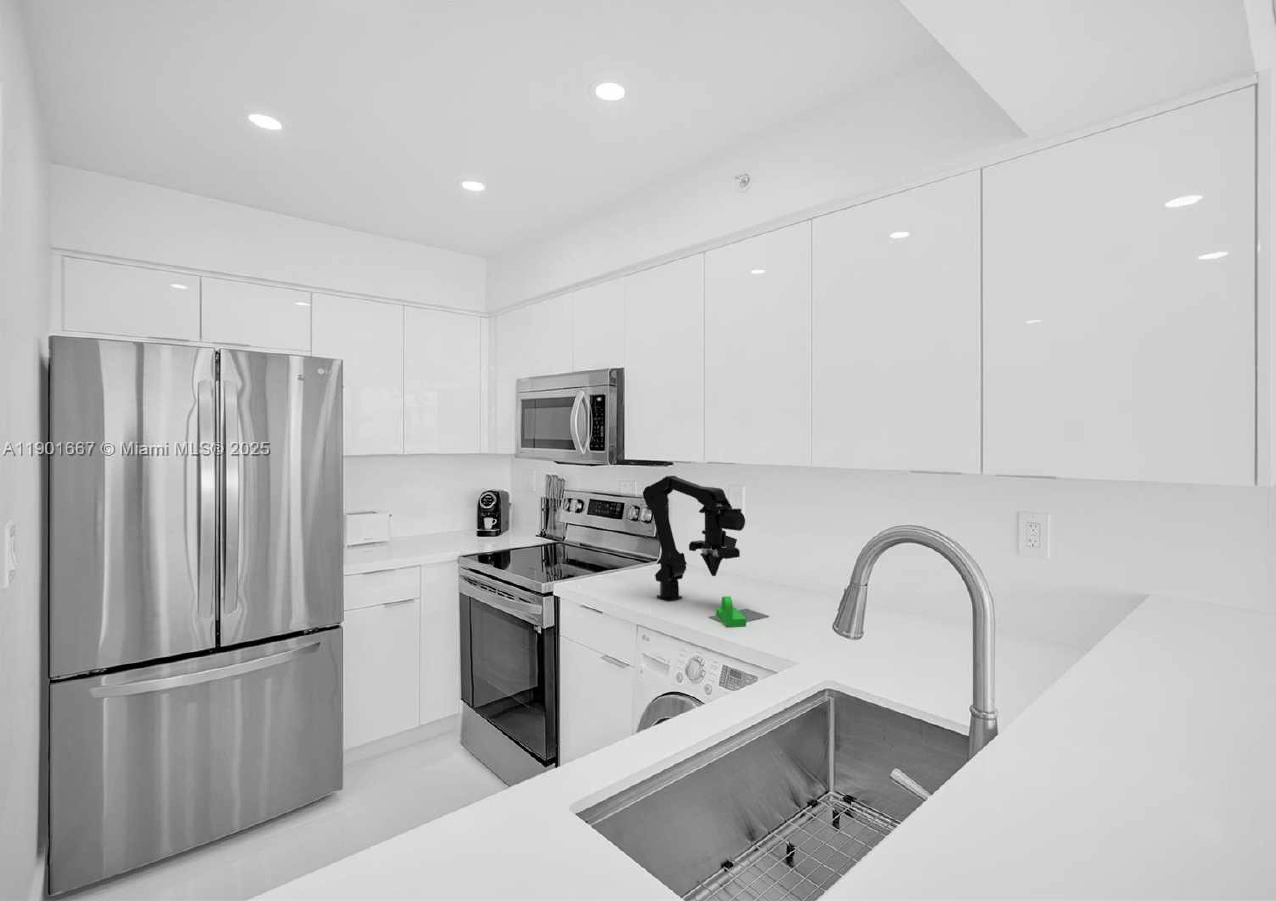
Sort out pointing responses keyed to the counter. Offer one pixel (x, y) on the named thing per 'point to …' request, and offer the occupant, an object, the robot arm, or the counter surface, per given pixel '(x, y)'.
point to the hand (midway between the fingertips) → (713, 575)
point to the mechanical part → (730, 613)
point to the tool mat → (745, 615)
